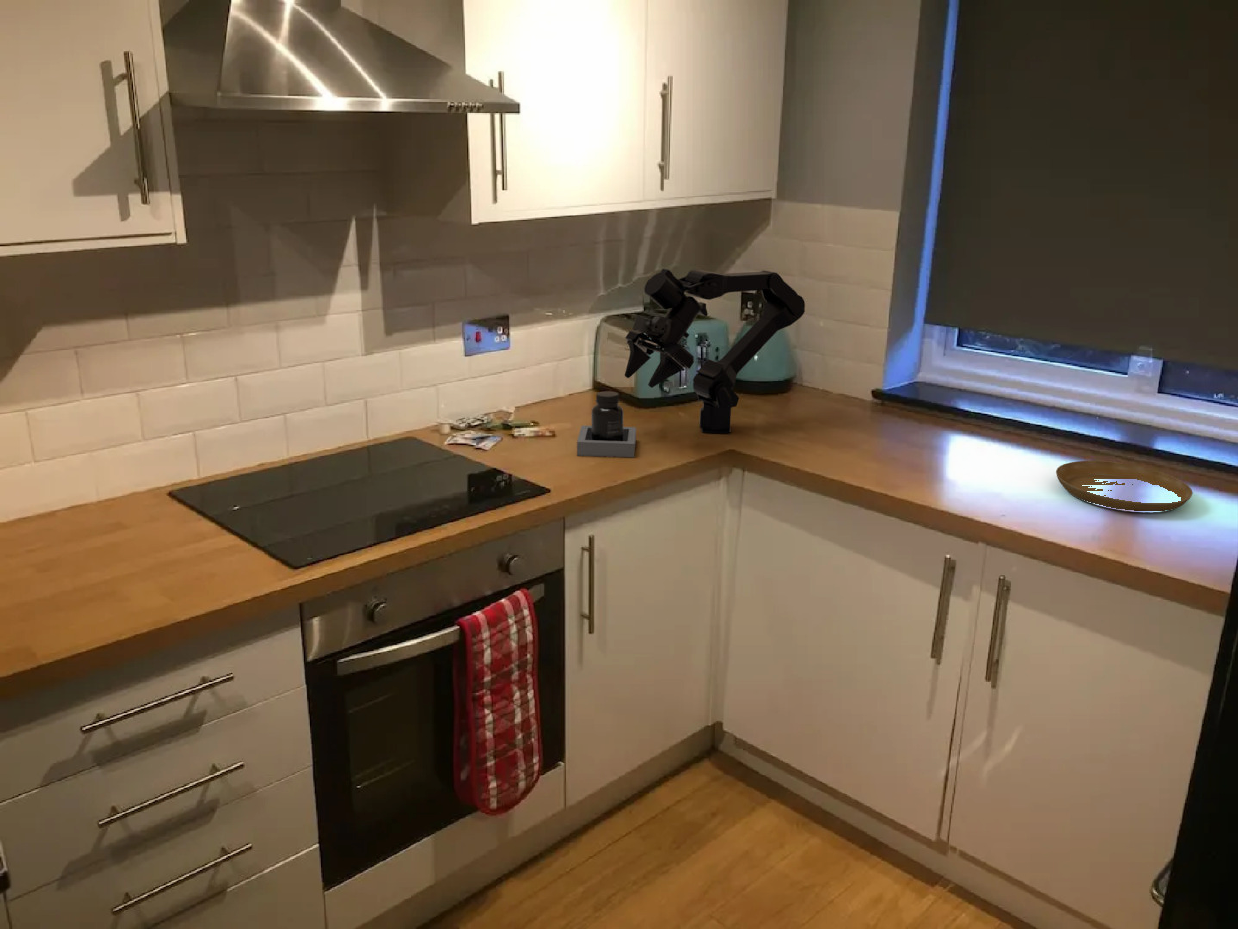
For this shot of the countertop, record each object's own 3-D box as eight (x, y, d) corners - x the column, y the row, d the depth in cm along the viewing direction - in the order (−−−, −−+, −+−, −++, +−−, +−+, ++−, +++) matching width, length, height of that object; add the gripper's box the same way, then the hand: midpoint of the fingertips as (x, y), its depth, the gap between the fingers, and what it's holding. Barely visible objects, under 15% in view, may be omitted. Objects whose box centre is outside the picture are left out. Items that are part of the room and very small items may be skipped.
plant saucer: (1193, 490, 208) (1196, 474, 207) (1185, 529, 188) (1188, 511, 187) (1064, 468, 219) (1066, 452, 218) (1043, 502, 200) (1046, 486, 199)
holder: (635, 440, 231) (636, 427, 230) (634, 457, 219) (634, 443, 218) (581, 438, 231) (581, 425, 230) (576, 455, 220) (577, 441, 219)
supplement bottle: (624, 443, 228) (625, 390, 224) (621, 453, 222) (622, 398, 218) (593, 442, 229) (593, 389, 225) (589, 451, 222) (589, 397, 219)
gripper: (629, 293, 228) (590, 352, 227) (679, 307, 213) (637, 371, 212) (661, 321, 235) (623, 379, 233) (712, 337, 220) (671, 399, 219)
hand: (637, 381), depth 224 cm, fingers open, 9 cm apart
